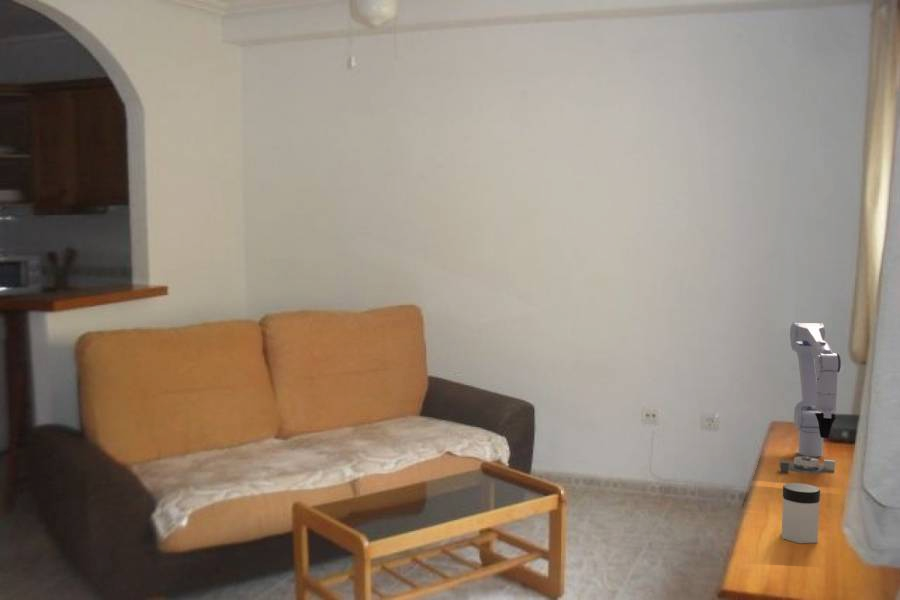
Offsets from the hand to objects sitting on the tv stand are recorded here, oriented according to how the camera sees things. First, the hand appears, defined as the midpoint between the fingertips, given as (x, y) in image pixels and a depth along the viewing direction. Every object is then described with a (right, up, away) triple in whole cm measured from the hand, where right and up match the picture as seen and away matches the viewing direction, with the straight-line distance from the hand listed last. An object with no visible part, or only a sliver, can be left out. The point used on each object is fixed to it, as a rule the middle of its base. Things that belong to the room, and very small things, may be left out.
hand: (824, 437), depth 277 cm
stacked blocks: (-15, -10, -8) cm, 20 cm away
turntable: (-7, -10, -3) cm, 13 cm away
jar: (-32, -14, -63) cm, 72 cm away
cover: (-7, -9, -3) cm, 11 cm away
